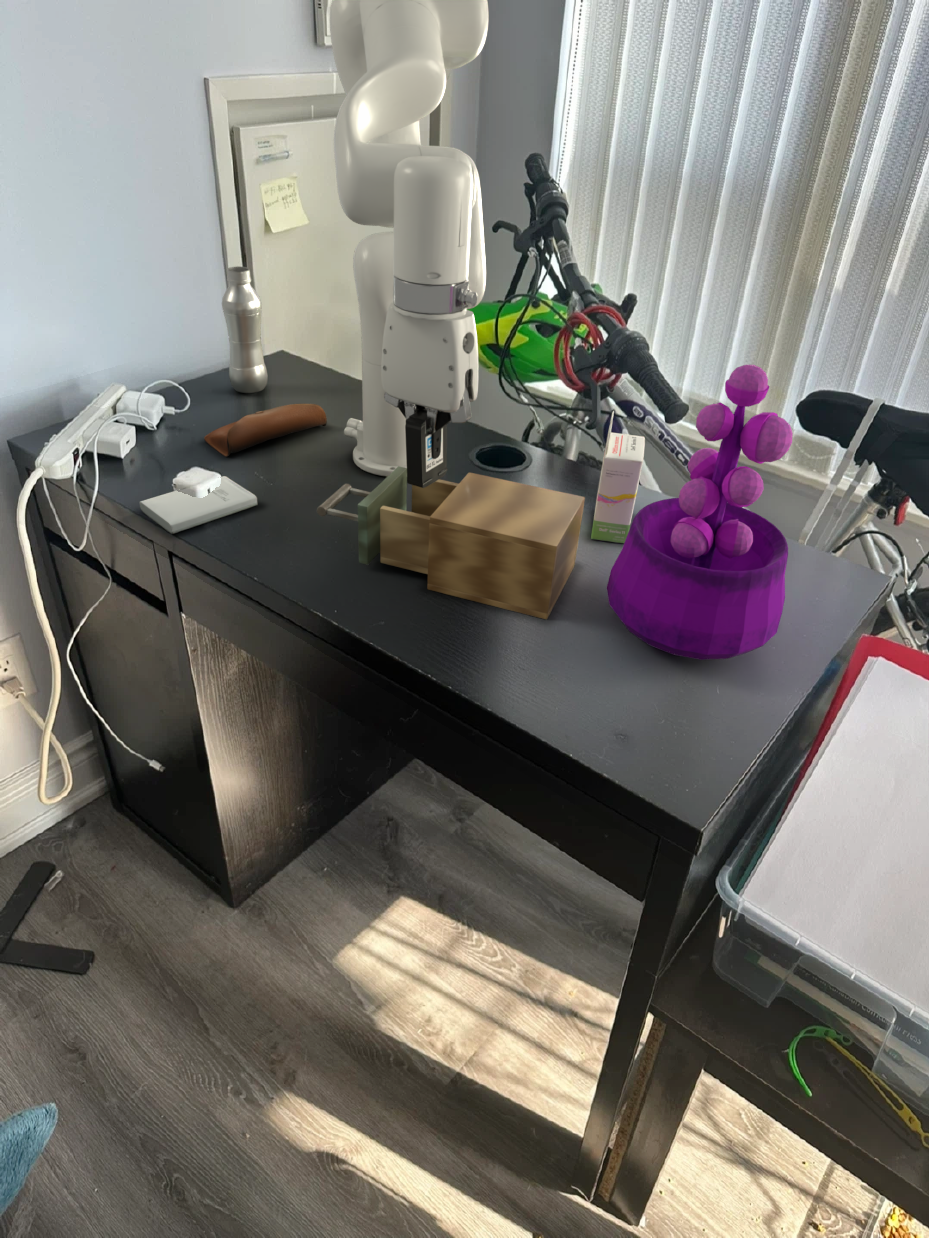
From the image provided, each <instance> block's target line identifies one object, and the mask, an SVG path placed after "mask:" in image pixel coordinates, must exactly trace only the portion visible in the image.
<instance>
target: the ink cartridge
mask: <svg viewBox="0 0 929 1238" xmlns="http://www.w3.org/2000/svg"><path fill="white" fill-rule="evenodd" d="M427 410H428V408H427V409H422V410H421V411H419V412H417V414H416V415H410V416H409V418H408V419H407V420H406V425H405V433H406V460H407V485H408V484H409V485H411V486H412V485H415V486H418V487H421V488H425V487H427V486H429V485H430V484H432V483H434V482H435V481H437V480H439V479H440V480H441V479H442V478H444V477H445V476H446V474H447V473H448V472H447V471H448V466H447V465H448V462H447V461H448V458H447V457H448V455H447V454H448V453H447V450H448V449H447V447H448V446H447V442H448V440H447V437H448V435H447V434H448V433H447V430H448V429H447V427H448V424H447V425H446V426H445V427H444V428H442V431H441V453H440V455H439V457H438V458H436V459H433V458H432V435H429V433H430V432H429V421H428V418H426V416H427ZM439 415H440V413H439Z"/></svg>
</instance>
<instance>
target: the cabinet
mask: <svg viewBox="0 0 929 1238" xmlns="http://www.w3.org/2000/svg"><path fill="white" fill-rule="evenodd" d="M585 500H586V496H581V495H577V494H573V493H568V492H564V491H559V490H554V489H549V488H545V487H541V486H535V485H530V484H526V483H521V482H516V481H511V480H507V479H502V478H497V477H493V476H488V475H483V474H479V473H473V472H468V473H467V474H466V475H465V476H464V477H463V479H462V480H461V481H460V482H459V483H458V485H457V487H456V488H455V489H454V490H453V491H452V492H451V493H450V495H449V496H448V497H447V498H446V499H445V500H444V501H443V503H442V504H441V505H440V506H439V507H438V508H437V509H436V511H435V512H434V513H433V514H432V515H431V516H430V521H429V523H430V524H429V553H428V574H427V583H426V584H427V588H426V589H427V590H428V591H432V592H436V593H440V594H443V595H448V596H452V597H457V598H459V599H460V598H461V599H465V600H466V601H467V600H468V601H472V602H475V603H480V604H484V605H487V606H492V607H496V608H498V609H499V608H500V609H503V610H507V611H511V612H514V613H519V614H523V615H527V616H530V617H535V618H539V619H542V620H548V619H549V616H550V614H551V612H552V610H553V609H554V607H555V605H556V603H557V601H558V599H559V597H560V596H561V593H562V591H563V589H564V587H565V585H566V584H567V581H568V579H569V578H570V576H571V574H572V572H573V570H574V568H575V566H576V559H577V552H578V547H579V540H580V533H581V526H582V520H583V513H584V506H585Z"/></svg>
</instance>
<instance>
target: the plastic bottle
mask: <svg viewBox="0 0 929 1238" xmlns="http://www.w3.org/2000/svg"><path fill="white" fill-rule="evenodd" d="M250 269H251V268H249V267H246V266H238V265H237V266H230V267H227V268H226V276H227V278H226V281H227V282H228V286H227V288H226V290H225V291H224V293H223V295H222V300H221V309H222V313H223V316H224V321H225V325H226V330H227V335H228V336H227V337H228V342H229V367H228V378H229V382H230V386H231V387H232V388H233V389H234V391H236V392H239V393H244V394H253V393H258V392H261V391H263V390H264V389H265V388H266V387H267V385H268V378H269V377H268V376H269V375H268V370H267V366H266V363H265V358H264V352H263V347H262V337H261V336H262V330H261V329H262V305H263V304H262V300H261V298H260V296H259V294H258V292H257V291H256V290H255V289H254V287H253V286H252V285H251V282H252V277H251V270H250Z"/></svg>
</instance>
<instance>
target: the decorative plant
mask: <svg viewBox="0 0 929 1238" xmlns="http://www.w3.org/2000/svg"><path fill="white" fill-rule="evenodd" d="M768 383H769V378H768V375H767V372H766V371H765V370H764V369H763V368H762V367H760V366H759V365H755V364H743V365H740V366H738V367H736V368H735V369H734V370H733V371H732V372H731V373H730V375H729V378H728V379H726V380H725V382H724V392H725V394H726V398H727V399H728V400H729V401H730V402H731V403H732V404H734V405H736V407H735V410H734V412H732V410H731V408H730V406H728V405H726V404H724V403H722V402H721V401H720V402H717V403H712V404H708V405H705V406H703V407H702V408H701V409H700V410H699V412H698V415H697V416H696V422H695V428H696V430H697V432H698V433H699V434H700V435H701V436H702V437H703V438H704V440H705V441H707V442H717V441H720V440H721V442H720V444H719V449H718V450H717V449H715V448H711V447H703V448H700V449H698V450H696V451H695V452H694V453H693V454H692V455H691V457H690V458H689V460H688V462H687V471H688V473H689V478H690V480H689V481H687V482H685V483H684V484H683V485H682V487H681V488H680V490H679V493H678V497H672V498H665V499H660V500H657V501H653V502H651V503H649V504H647V505H645V506H643V507H642V508H641V509H639V510H638V512H637V513H636V514H635V516H634V517H633V518H632V521H631V524H630V529H629V532H628V535H627V538H626V540H625V543H623V546H622V548H621V550H620V551H619V554H618V556H617V558H616V560H615V561H614V563H613V565H612V566H611V569H610V572H609V576H608V580H607V583H606V594H607V601H608V605H609V606H610V608H611V609H612V610H613V612H614V613H615V614H616V616H617V617H618V619H619V620H620V621H621V623H622V624H623V625H624V627H626V629H627V630H628V631H629V632H630V633H631V634H632V635H633V636H635V637H637V638H638V639H640V640H641V641H642V642H644V643H646V644H647V645H648V646H651V647H653V648H656V649H658V650H660V651H664V652H666V653H668V654H671V655H674V656H678V657H683V658H688V659H695V660H701V661H702V660H703V661H704V660H728V659H731V658H734V657H737V656H740V655H743V654H744V655H745V654H747V653H749V652H752V651H754V650H756V649H759V648H761V647H763V646H764V645H765V644H767V642H769V641H770V640H771V639H772V638H773V637H774V636H775V635H776V634H777V633H778V630H779V626H780V622H781V619H782V615H783V610H784V606H785V601H786V570H787V564H788V559H789V545H788V541H787V539H786V537H785V536H784V534H783V532H782V531H781V530H780V529H779V528H778V527H777V526H776V525H775V524H774V523H772V522H770V521H769V520H768V519H766V518H765V517H763V516H761V515H760V514H758V513H756V512H754V511H751V510H749V509H747V507H749V506H751V505H753V504H754V503H755V502H756V501H758V500H759V498H760V497H761V496H762V494H763V491H764V489H765V487H764V485H765V484H764V480H763V479H762V476H761V475H760V473H758V472H757V470H755V469H753V468H752V467H749V466H747V465H745V466H742V465H741V466H738V463H739V459H740V455H741V452H742V454H743V455H744V456H745V457H746V458H747V460H749V461H752V462H754V463H755V464H759V465H763V464H764V463H774V462H776V461H780V460H781V459H782V458H783V457H784V456H785V455H786V454H787V453H788V452H789V450H790V448H791V446H792V443H793V436H794V435H793V434H794V432H793V429H792V427H791V424H789V422H788V421H787V420H786V419H785V418H783V417H780V416H779V415H778V413H776V412H773V411H771V412H770V411H767V412H766V411H762V412H760V413H757V414H755V415H753V416H752V417H750V419H748V420H747V421H746V422H745V414H746V408H749V407H752V406H755V405H758V404H759V405H760V404H761V402H762V401H763V400H765V398H766V396H767V395H768V392H769V389H770V386H769V384H768Z"/></svg>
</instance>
